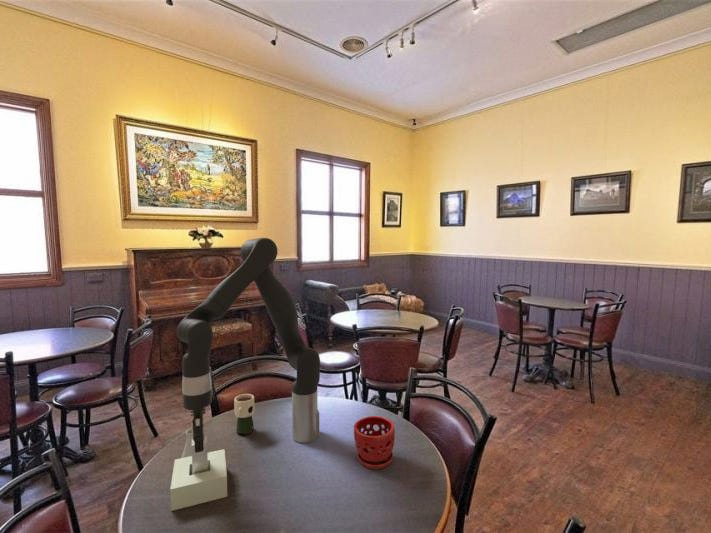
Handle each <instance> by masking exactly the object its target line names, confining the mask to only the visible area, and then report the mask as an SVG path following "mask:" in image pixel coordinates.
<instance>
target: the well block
mask: <svg viewBox="0 0 711 533" xmlns="http://www.w3.org/2000/svg"><path fill="white" fill-rule="evenodd" d="M225 453H226V451H225V449H224V448H223V449H219V450H214V451H207V456H208V471H207V472H202V473H198V474H194V475H193V473H192V456H189V457H185V458H181V457H180V458H176V459H174V463H173V470H172V476H171V482H170V488H169V489H170V490H169V491H170V492H169V493H170V510H171V511H172V512H173V511H176V510H177V511H178V510H180V509H184V508H188V507H193V506H196V505H200V504H204V503H207V502H208V503H209V502H211V501H215V500H219V499H223V498H226V497H228V474H227V464H226V463H227V462H226V454H225Z"/></svg>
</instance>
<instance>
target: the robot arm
mask: <svg viewBox="0 0 711 533" xmlns="http://www.w3.org/2000/svg"><path fill="white" fill-rule="evenodd" d="M240 256H241V260H242V261H243V262H242V264H241V265H240V266H239V267H238V268H237V269H235V271H234V272H233V273H231V274H230V275H228V276H227V277H226V278H225V279H223V280H222V281H221V282H219V283H218V285H216V286H215V288H214V289H213V290H212V291H211V292H210V293H209V294H208V295H207V297H206V298H205V299H204V300H203V302H201V303H200V304H199V305H198V306H196V307H195V308H194V309H193V310H192V311H191V312H189V313H187V315H186V316H184V317H183V319H182V320H181V321H180V322H179V324H178V325H177V328H176V337H177V338H178V340H179V341H181V342H183V343H185V344H188V349H187V352H186V353H185V354H184V355H183V357H182V360H181V365H182V366H181V367H182V369H181V370H182V381H181V386H182V387H181V388H182V407H183V409H185V410H187V411H190V414H189V415H190V418H189V420H190V421H191V429H192V431H193V441H194V443H195V452H196V453H198V452H202V451H203V450H204V446H203V438H204V436H205V433H204V432H205V429H206V417H207V414H206V413H207V411H206V410H207V409H206V408H207V407H209V406H210V405H211V404H212V402H213V397H212V396H213V395H212V394H213V393H212V392H213V391H212V377H211V371H210V370H211V369H210V368H211V367H210V355H211V351H212V345H213V340H214V332H213V328H212V326H211V324H210V323H212V322H213V321H217V320H221V319H222V318H223V317H224V316H225V315H226V313H227V312H228V311H229V310H230V308H231V307H232V306H233V304H234V303H236V300H237V299H238V298H239V297H240V296H241V295H242V293H244V291H245V290H246V289H247V288H248V287H249V285H251V284H252V283H253V282H254V283H255V285H256V288H257V290H258V292H259V294H260V297H261V298H262V299H261V300H262V301H263V303H264V305H265V309H266V311H267V313H268V316H269V317H270V320H271V322H272V324H273V326H274V328H275V330H276V332H277V334H278V336H279V338H280V341H281V342H282V345H283V349H284V352H285V355H286V359H287V361H288V364H289V366H290V367H291V369H294V370H295V371H296V380H294V381H293V382H292V383H291V415H292V416H291V423H292V428H291V430H292V432H291V433H292V439H293V440H294V441H295V442H297V443H310V442H313V441H315V440H316V439H318V438H320V437H321V436H320V433H321V432H320V410H319V409H318V406H319V405H318V404H319V403H318V385H319V383H320V378H321V374H320V373H321V357H320V355H319V353H318V351H317V350H316V349H314V348H312V347H310V346H308V345H307V344H306V343H305V341H304V339H303V337H302V335H301V333H300V330H299V316H298V310H297V307H296V304H295V303H294V300H293V298H292V295H291V294H290V292H289V291H288V290H287V288H286V287H285V286H284V285H283V284H282V283H281V282H280V281H279V280H278V278H277V277H276V276H275V275H274V273H273V271H272V268H271V267H270V266H271V265H272V264H273V263H274V262H275V260H277V259H276V258H277V256H278V246H277V245H276V243H275V241H273V240H272V239H270V238H268V237H258V238H252V239H247V240H245V241H244V242H242V245H241V248H240Z"/></svg>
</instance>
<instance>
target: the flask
mask: <svg viewBox="0 0 711 533" xmlns="http://www.w3.org/2000/svg"><path fill="white" fill-rule="evenodd" d="M185 435H186V439H185V440H186V441H185V445H184V448H183V451H182V454H181V457H180V458H185V457H189V456H192V439H193V431H192V428H189V429H187V430H186V431H185Z"/></svg>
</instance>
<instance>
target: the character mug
mask: <svg viewBox="0 0 711 533" xmlns="http://www.w3.org/2000/svg"><path fill="white" fill-rule="evenodd" d="M233 401H234V402H233V404H234V416H235V418H236V419H237V420H236V430H235V431H236V433H238V434H244V435H245V434H246V435H247V434H250V433H252V432H253V430H254V429H255V426H254V420H253V415H254V414H255V411H256V410H255V409H256V408H255V396H254V395H253V394H251V393H242V394H239V395H236V396H235V397H234V399H233Z"/></svg>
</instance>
